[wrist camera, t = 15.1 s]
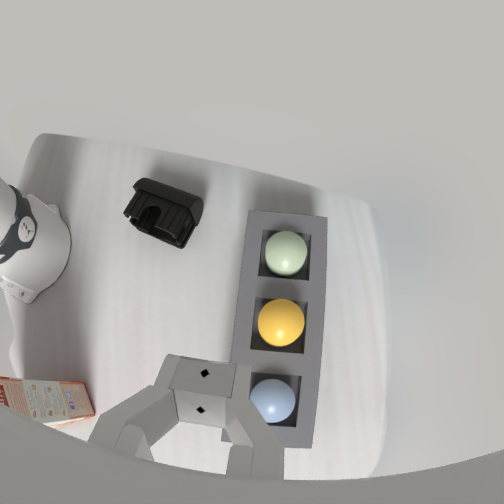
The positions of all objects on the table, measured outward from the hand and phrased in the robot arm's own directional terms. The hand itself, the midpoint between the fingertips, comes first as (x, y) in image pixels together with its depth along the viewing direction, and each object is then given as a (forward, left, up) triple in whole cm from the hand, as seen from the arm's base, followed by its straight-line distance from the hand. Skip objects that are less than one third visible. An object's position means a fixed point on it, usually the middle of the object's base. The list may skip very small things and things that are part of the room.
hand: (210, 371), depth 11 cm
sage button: (+3, +14, -26) cm, 30 cm away
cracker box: (-29, -12, -32) cm, 45 cm away
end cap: (-15, +21, -33) cm, 41 cm away
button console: (+3, +5, -32) cm, 33 cm away
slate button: (+3, -3, -26) cm, 27 cm away
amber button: (+3, +5, -25) cm, 26 cm away
